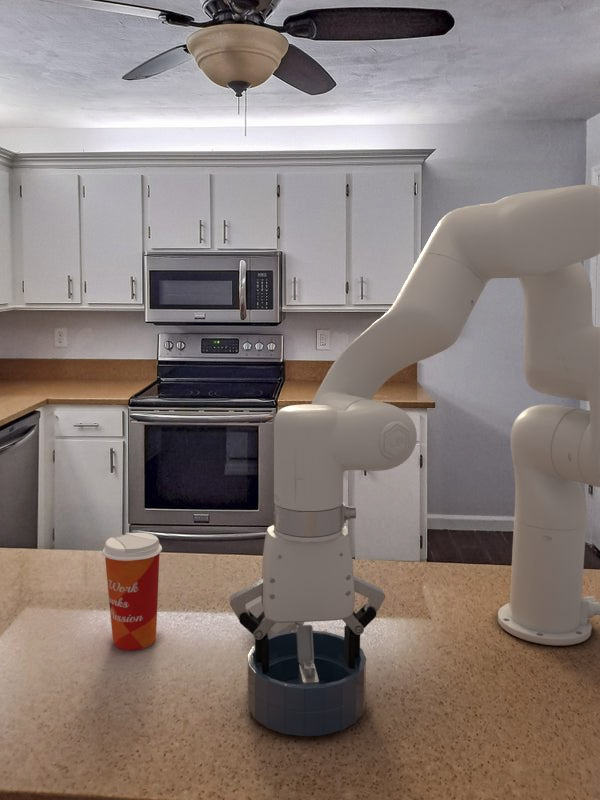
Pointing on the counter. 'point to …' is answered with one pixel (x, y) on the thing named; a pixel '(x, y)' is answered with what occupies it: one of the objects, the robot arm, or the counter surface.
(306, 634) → the lighter
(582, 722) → the counter surface
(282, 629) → the grey polyhedron
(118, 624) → the paper cup
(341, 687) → the bowl
